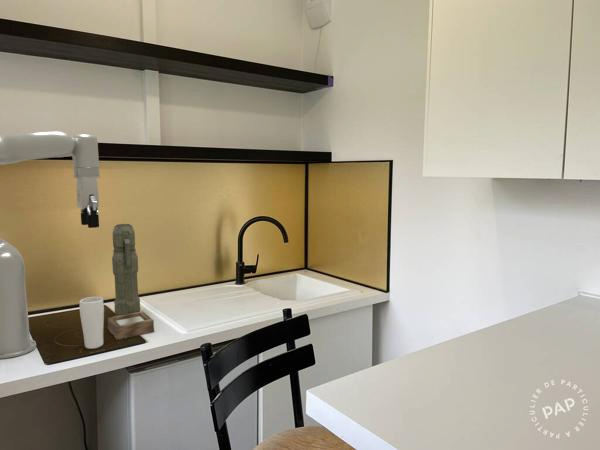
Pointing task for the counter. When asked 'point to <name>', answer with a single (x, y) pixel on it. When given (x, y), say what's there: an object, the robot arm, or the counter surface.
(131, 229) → the stone statue
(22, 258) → the robot arm
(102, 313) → the drinking glass
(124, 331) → the wooden tray
